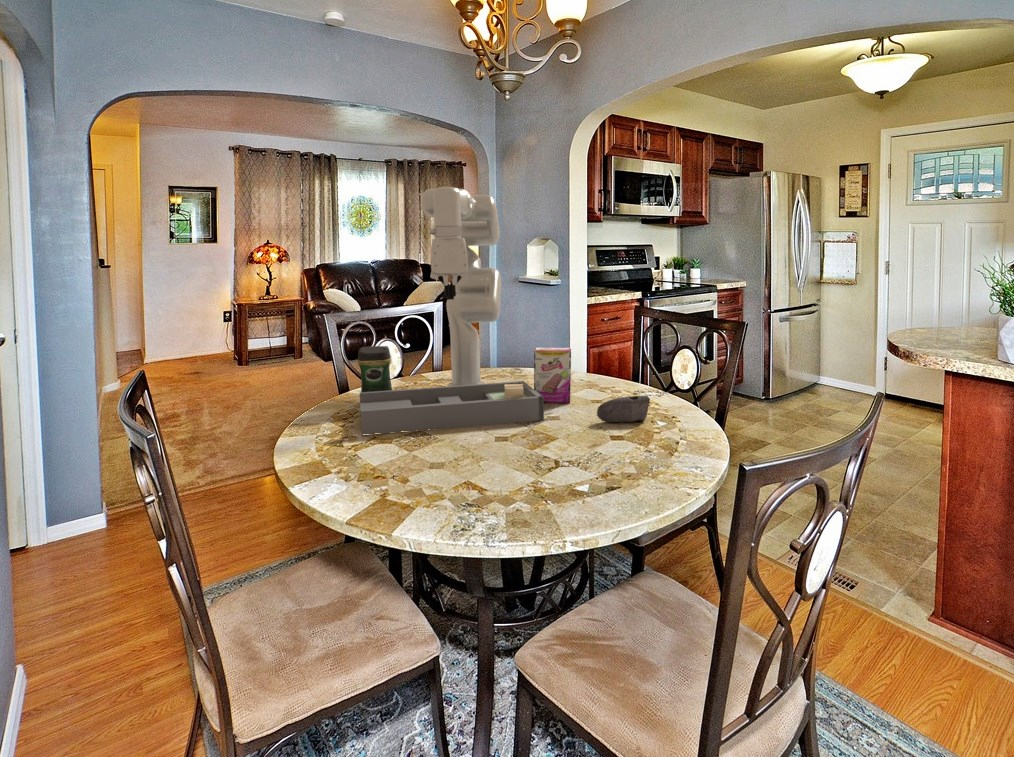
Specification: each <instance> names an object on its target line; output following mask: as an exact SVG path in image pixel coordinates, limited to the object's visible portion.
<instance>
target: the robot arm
mask: <svg viewBox="0 0 1014 757" xmlns="http://www.w3.org/2000/svg"><path fill="white" fill-rule="evenodd" d="M420 201H421V209H422V211H423V213H424V214H425V216H427V217H430V218H433V228H431V229H429V230H428V234H429V235H432V236H434V238H432V240H431V246H430V271H431V272H430V276H429V277H430V278H431V279H433V280H437V281H439V282H440V283H441V284H442V285H443V286H444V297H445V298H446V299H447V300H446V312H447V318H448V323H449V335H450V337H449V338H450V360H451V362H450V364H451V382H449V383H448V384H447V386H459V385H473V384H486V383H485V382H483V381H481V358H480V357H481V354H480V352H481V351H480V350H481V349H480V334H479V333H478V330H477V329H476V328H475V327H474V325H473V324H474V323H493V322H497V320H499V317H500V314H501V302H502V300H501V299H502V276H501V273H500V272H499V270H498V269H496V268H495V267H494V268H493V267H481V266H482V260H481V258H480V257H479V255H478V254H477V252H475V251H474V250H473V249H471V247H473V246H474V247H476V246H477V247H479V246H481V247H482V246H483V247H484V246H485V247H486V246H487V247H488V246H490V247H491V246H494V245H495V246H496V245H497V244H498V242H499V241H500V237H501V236H500V235H501V232H500V231H501V230H500V223H499V215H498V208H497V205H496V204H497V203H496V202H495V199H494V197H493V196H492V195H490V194H470V193H469V192H468V191H467V190H466V189H465V188H457V187H454V186H440V187H435V188H429V189H426V190H424V191H423V193H422V196H421V199H420ZM448 275H451V281H450V282H449V279H448ZM472 323H473V324H472Z"/></svg>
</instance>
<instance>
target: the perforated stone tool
mask: <svg viewBox="0 0 1014 757" xmlns="http://www.w3.org/2000/svg"><path fill="white" fill-rule="evenodd" d="M650 400H651V398H650V397H649V396H648V395H634V396H623V397H617V398H612V399H611V400H609V399H608V400H607V401H605V402H602V403H601V404H600V405H599V406H598V407H597V410H596V415H597V417H598V419H600V420H601V421H602V422H606V423H618V422H620V424H621V423H622V424H623V423H624V424H625V423H626V422H628V423H635V422H637V421H638V422H643V421H646V418H647V417H648V411H649V406H650Z"/></svg>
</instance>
